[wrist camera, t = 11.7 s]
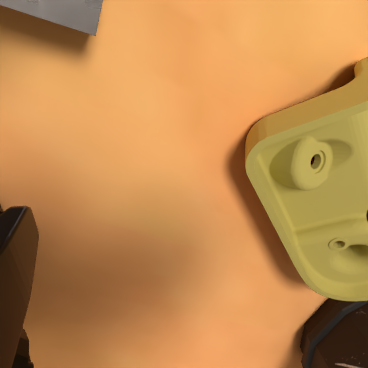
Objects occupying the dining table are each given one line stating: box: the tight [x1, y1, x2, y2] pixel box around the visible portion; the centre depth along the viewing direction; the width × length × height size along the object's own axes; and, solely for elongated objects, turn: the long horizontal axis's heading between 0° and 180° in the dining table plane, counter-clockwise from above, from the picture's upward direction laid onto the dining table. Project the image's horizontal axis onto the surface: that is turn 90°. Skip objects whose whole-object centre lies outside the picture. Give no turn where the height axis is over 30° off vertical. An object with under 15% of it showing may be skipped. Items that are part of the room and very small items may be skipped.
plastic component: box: [245, 57, 368, 301], centre depth 27 cm, size 20×7×10 cm
